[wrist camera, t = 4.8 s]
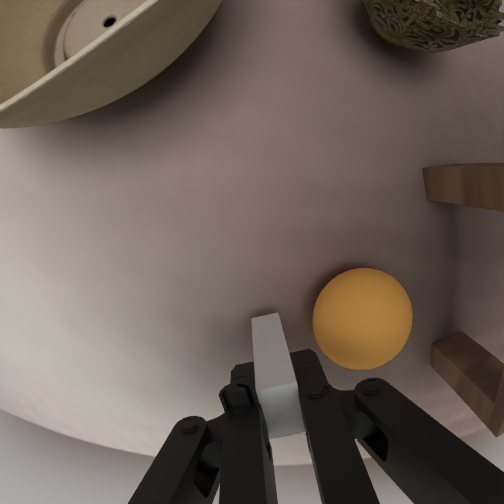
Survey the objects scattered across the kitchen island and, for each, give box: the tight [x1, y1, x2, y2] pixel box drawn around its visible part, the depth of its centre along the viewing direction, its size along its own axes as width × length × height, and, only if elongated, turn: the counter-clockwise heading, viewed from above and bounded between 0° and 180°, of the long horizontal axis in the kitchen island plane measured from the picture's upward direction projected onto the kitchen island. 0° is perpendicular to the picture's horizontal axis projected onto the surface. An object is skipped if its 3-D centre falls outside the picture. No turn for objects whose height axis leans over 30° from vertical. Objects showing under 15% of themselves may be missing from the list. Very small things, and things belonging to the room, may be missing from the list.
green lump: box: [364, 0, 504, 52], centre depth 11 cm, size 8×7×8 cm
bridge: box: [423, 163, 504, 437], centre depth 14 cm, size 3×14×9 cm, turn 12°
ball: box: [312, 268, 413, 370], centre depth 16 cm, size 6×6×6 cm
